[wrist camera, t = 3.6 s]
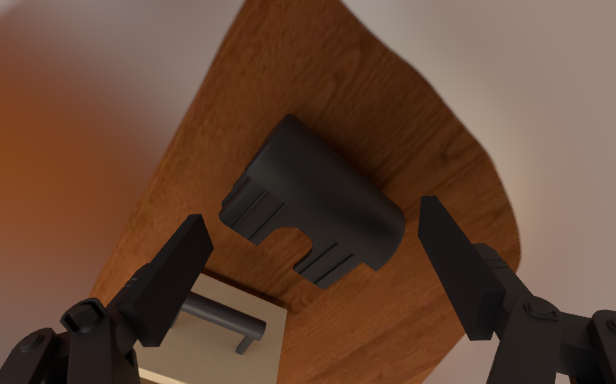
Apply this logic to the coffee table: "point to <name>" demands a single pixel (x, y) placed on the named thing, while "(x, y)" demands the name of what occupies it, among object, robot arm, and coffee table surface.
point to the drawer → (217, 340)
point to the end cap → (314, 204)
